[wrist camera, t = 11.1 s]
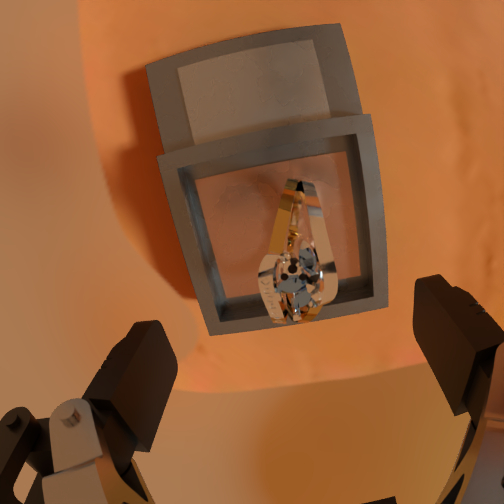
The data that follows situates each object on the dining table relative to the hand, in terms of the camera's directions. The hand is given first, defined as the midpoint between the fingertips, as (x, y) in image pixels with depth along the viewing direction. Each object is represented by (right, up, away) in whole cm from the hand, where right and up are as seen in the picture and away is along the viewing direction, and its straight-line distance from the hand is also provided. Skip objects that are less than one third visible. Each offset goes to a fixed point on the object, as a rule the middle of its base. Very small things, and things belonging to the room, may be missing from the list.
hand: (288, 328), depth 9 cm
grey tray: (0, +7, +12) cm, 14 cm away
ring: (+1, +4, +10) cm, 11 cm away
